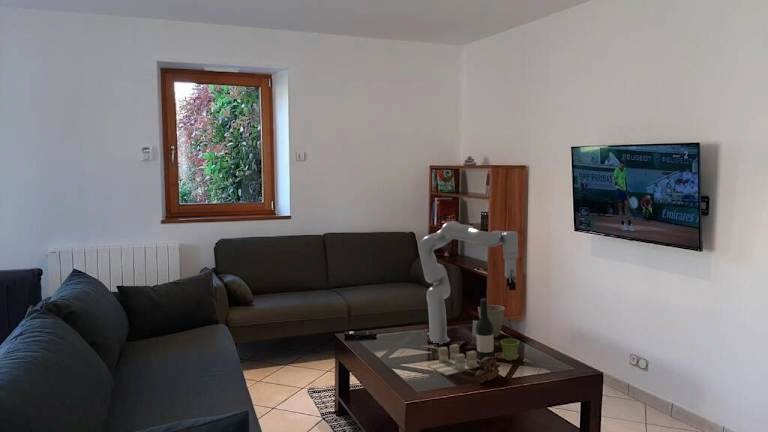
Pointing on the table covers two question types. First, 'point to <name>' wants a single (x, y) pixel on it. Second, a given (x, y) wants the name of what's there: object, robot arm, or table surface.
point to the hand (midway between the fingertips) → (511, 288)
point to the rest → (454, 361)
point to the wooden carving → (487, 369)
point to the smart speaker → (474, 333)
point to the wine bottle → (484, 333)
